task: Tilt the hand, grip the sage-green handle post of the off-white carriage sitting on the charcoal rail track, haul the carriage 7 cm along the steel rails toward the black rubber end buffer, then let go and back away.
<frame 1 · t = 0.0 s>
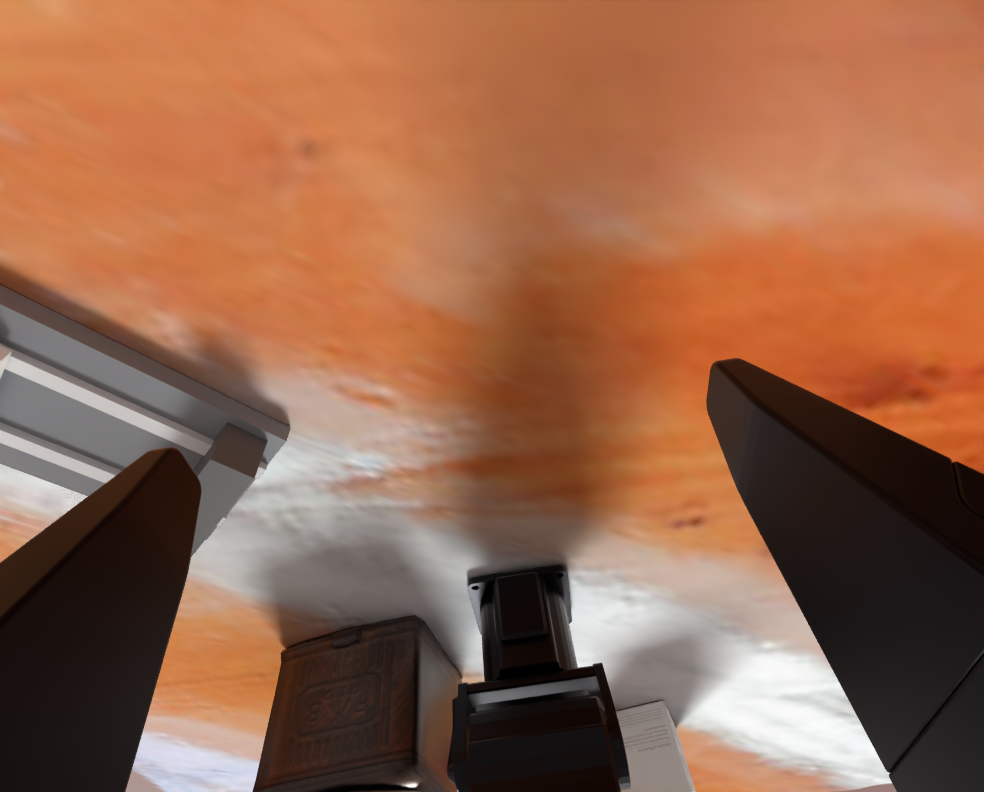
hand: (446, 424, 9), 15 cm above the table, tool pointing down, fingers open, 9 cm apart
rail track: (50, 394, 26), on the table
manual coffee grinder: (345, 666, 43), on the table
supplement box: (631, 721, 52), on the table
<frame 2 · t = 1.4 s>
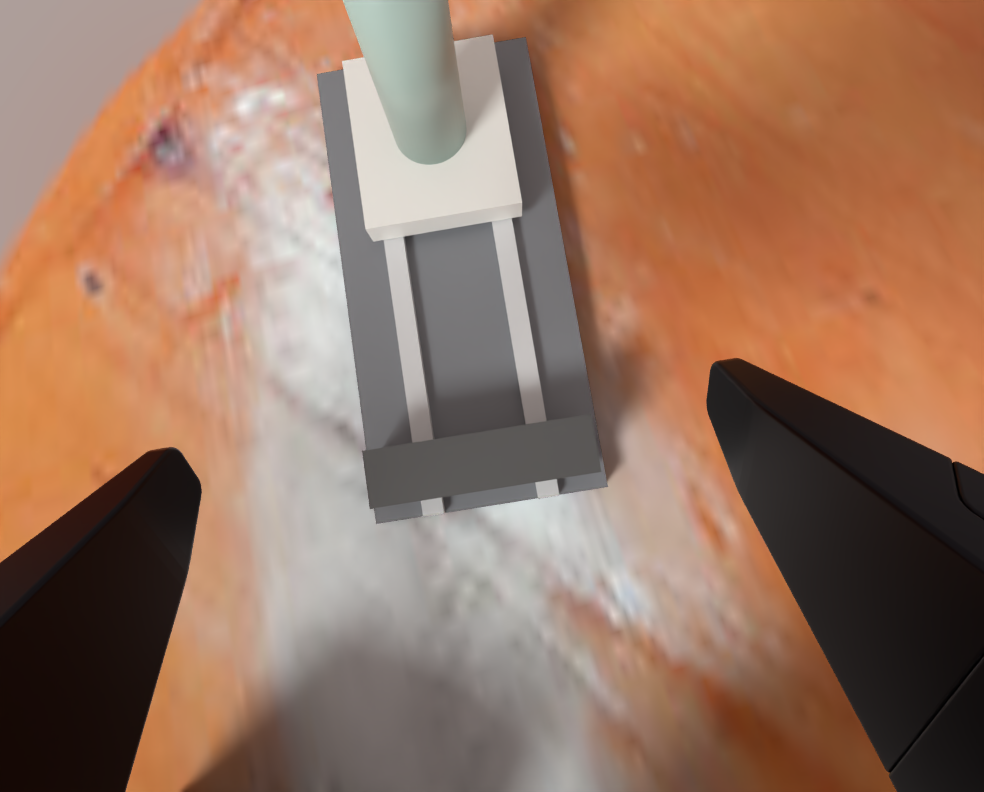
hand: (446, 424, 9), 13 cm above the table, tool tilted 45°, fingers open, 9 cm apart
rail track: (456, 277, 24), on the table
carriage: (412, 60, 18), point 6 cm above the table, slide at 0.0 cm
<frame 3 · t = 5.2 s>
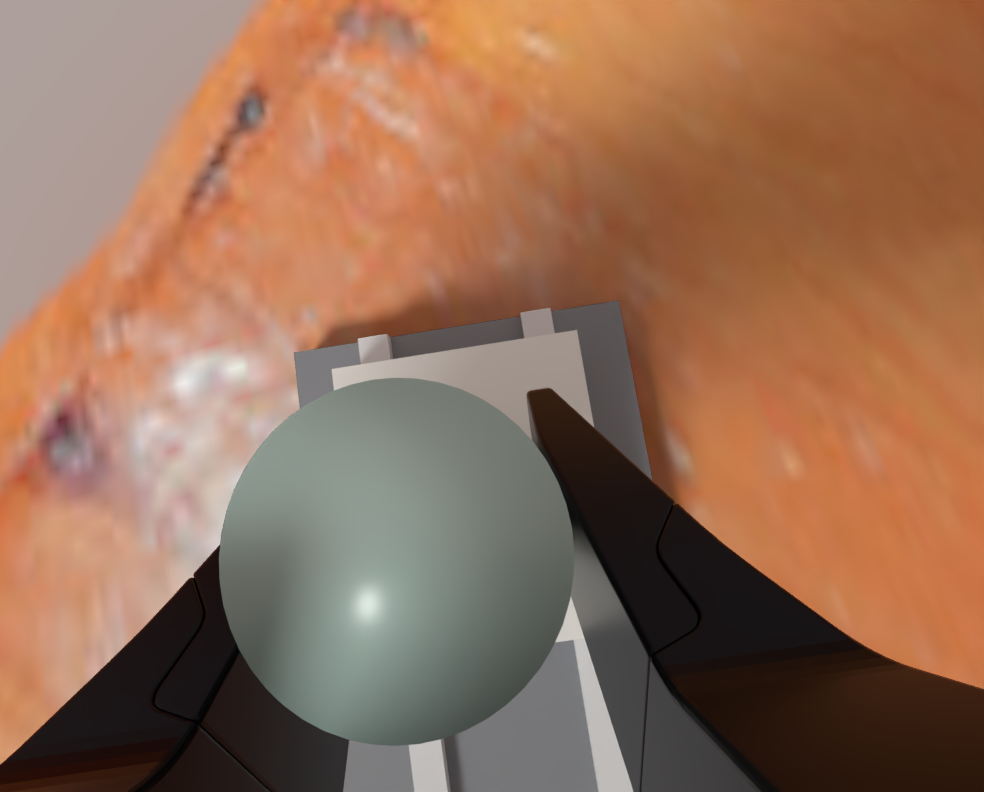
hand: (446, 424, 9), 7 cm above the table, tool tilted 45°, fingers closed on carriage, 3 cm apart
rail track: (509, 675, 15), on the table
carriage: (458, 507, 9), point 6 cm above the table, slide at 0.0 cm, touching gripper
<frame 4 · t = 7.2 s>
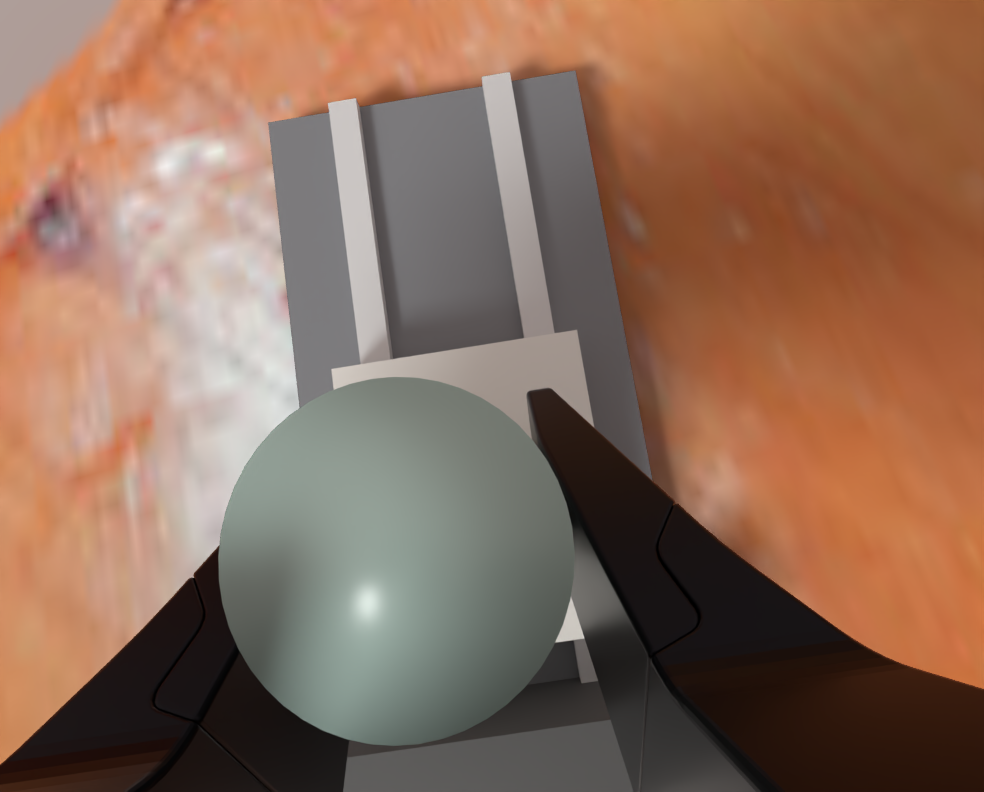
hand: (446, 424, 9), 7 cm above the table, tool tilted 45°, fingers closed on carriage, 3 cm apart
rail track: (471, 424, 16), on the table
carriage: (458, 507, 9), point 7 cm above the table, slide at 6.9 cm, touching gripper
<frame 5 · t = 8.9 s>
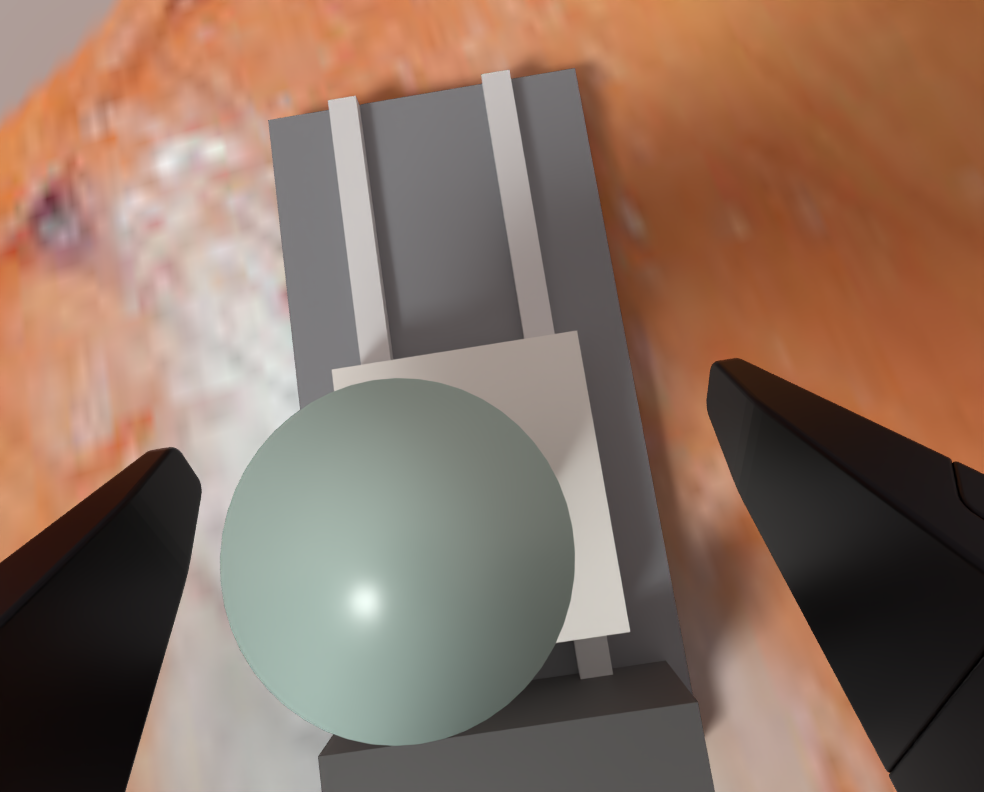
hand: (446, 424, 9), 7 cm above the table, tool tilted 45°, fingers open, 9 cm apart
rail track: (471, 420, 16), on the table
carriage: (458, 507, 9), point 7 cm above the table, slide at 7.0 cm
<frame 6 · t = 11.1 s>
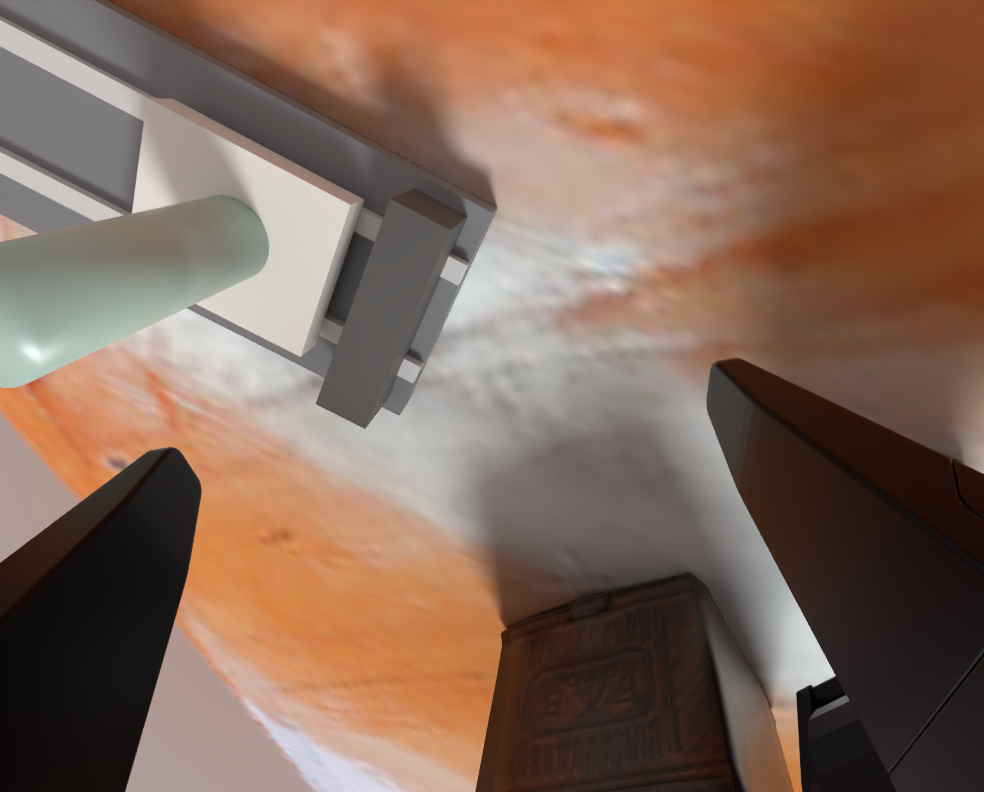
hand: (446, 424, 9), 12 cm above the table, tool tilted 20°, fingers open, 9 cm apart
rail track: (223, 199, 21), on the table
manual coffee grinder: (589, 670, 30), on the table
carriage: (151, 265, 16), point 7 cm above the table, slide at 7.0 cm
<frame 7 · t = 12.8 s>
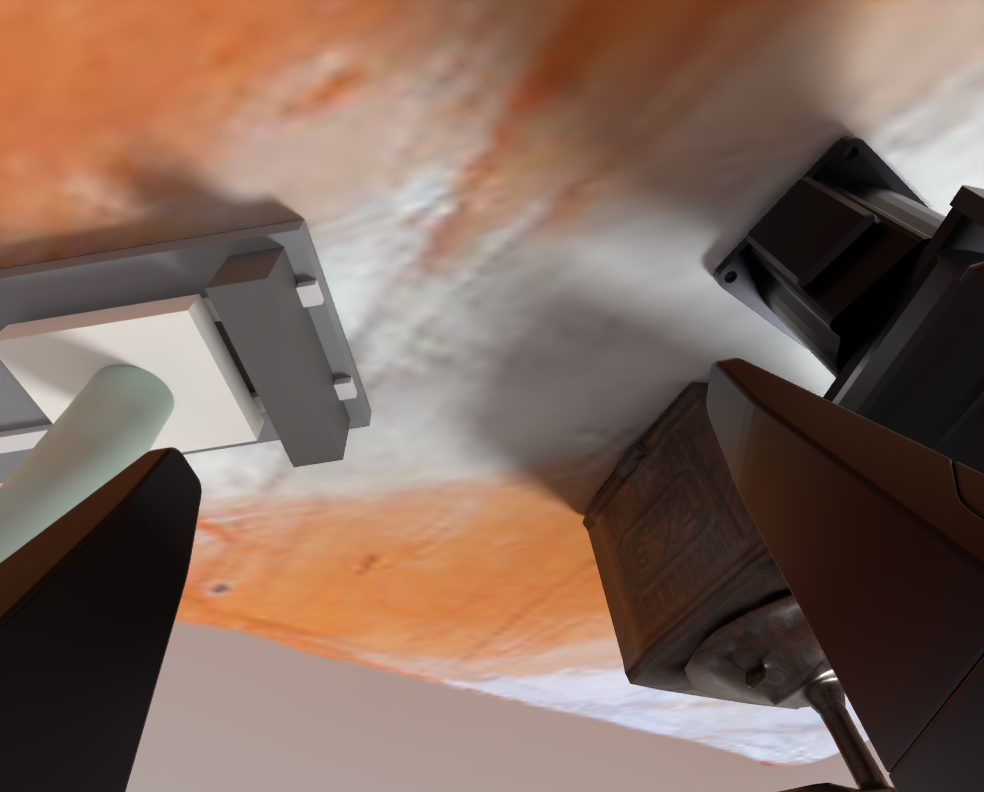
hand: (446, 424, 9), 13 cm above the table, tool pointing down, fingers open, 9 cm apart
rail track: (114, 363, 23), on the table
manual coffee grinder: (674, 503, 32), on the table
carriage: (82, 468, 18), point 7 cm above the table, slide at 7.0 cm
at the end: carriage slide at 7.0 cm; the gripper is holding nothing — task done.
